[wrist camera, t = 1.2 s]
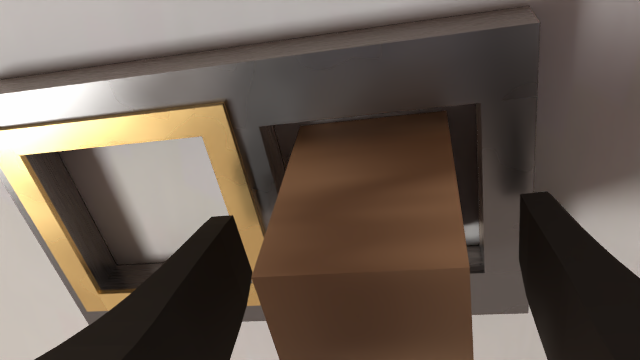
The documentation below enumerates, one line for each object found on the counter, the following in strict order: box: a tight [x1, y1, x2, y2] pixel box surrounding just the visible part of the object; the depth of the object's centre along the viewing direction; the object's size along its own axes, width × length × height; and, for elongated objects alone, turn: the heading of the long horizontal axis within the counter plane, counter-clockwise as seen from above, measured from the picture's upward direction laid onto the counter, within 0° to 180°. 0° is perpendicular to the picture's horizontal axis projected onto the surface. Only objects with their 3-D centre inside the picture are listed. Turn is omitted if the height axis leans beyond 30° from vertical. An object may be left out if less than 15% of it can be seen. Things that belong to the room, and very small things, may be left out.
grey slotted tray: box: [0, 6, 540, 325], centre depth 16 cm, size 15×9×1 cm, turn 101°
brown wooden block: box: [251, 111, 473, 360], centre depth 13 cm, size 4×4×6 cm
